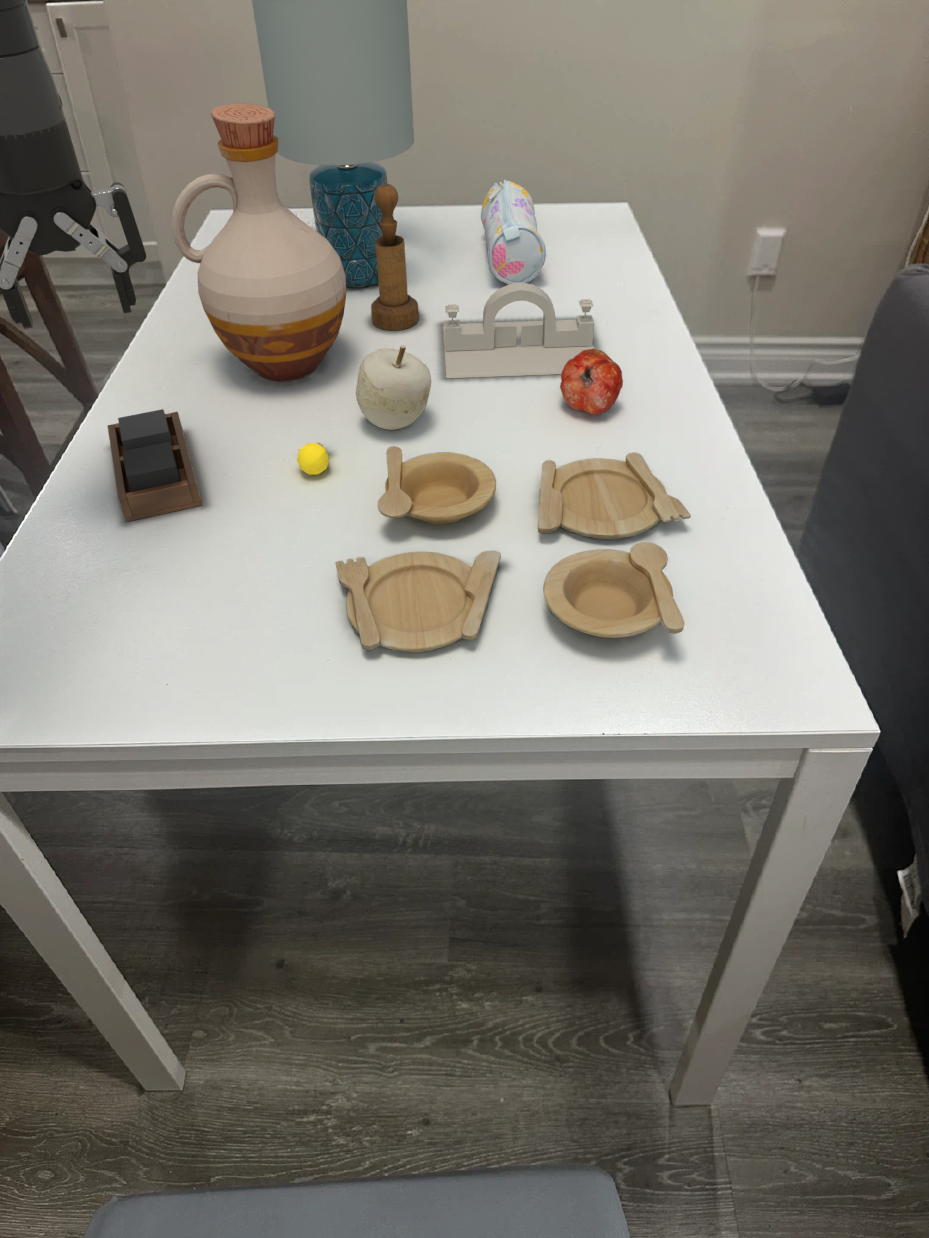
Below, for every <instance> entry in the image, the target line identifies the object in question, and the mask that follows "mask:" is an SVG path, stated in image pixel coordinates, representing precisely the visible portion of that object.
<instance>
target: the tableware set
mask: <svg viewBox="0 0 929 1238" xmlns="http://www.w3.org/2000/svg"><path fill="white" fill-rule="evenodd" d="M386 466H387V478H386V481H385V486H384V488H385V492H384V493H383V494H382V495H381V496H380V497H379V498H378V501H377V510H378V512H379V513H380V515H382V516H384V517H385V518H389V519H400V518H401V519H402V518H404V517H405V516H407V517H410V518H413V519H417V520H420V521H422V522H424V523H428V524H433V525H434V524H435V525H448V524H452V523H456V522H460V521H462V520H464V519H465V518H467V517H469V516H473V515H475V514H477V513H478V512H481V510H483V509H484V508H486V506H488V505H489V504H490V503H491V501H492V500H493V498H494V497H495V494H496V490H497V479H496V476H495V473H494V471H493V469H491V468H490V467H489V466H488V465H487V464H486V463H485V462H483V461H481V460H480V459H478V458H475V457H472V456H470V455H468V454H467V455H466V454H463V453H458V452H451V451H441V452H440V451H439V452H430V453H425V454H420V455H417V456H414V457H412V458H409V459H407V460H404V461H403V450H402V448H401V447H399V446H396V445H393V446H389V447H388V448H386ZM540 472H541V473H540V488H539V494H538V495H539V497H538V498H539V508H538V509H539V510H538V523H537V525H538V526H537V530H538V533H539V534H540V533H542V534H550V533H554V532H556V531H557V530H558V529H559V528H560V527H561V528H563V529H564V530H567V531H568V532H570V533H573V534H576V535H578V536H579V535H580V536H583V537H588V538H593V539H602V540H611V539H624V538H629V537H633V536H637V535H640V534H642V533H644V532H646V531H648V530H650V529H652V528H653V527H655V526H656V525H657V524H658V523H659V522H660V521H662V522H663V523H669V522H671V521H672V520H673V521H679V520H681V519H682V520H689V519H690V518H692V516H691V515H692V514H691V513H690V511H688V509H687V507H686V506H685V505H684V504H683V503H682V502H681V500H680V499H679V498H676V497H674V496H671V495H669V494H668V493H667V490H666V487H665V486H664V484H663V483H662V482H661V480H660V479H658V477H656V476H655V475H654V474H653V472H652V470H651V469H650V467H649V465H648V463H647V461H646V460H645V459H644V456H643V455H642V454H641V453H639V452H633V451H632V452H628V453H627V454H626V455H625V461H624V460H620V459H614V458H603V457H602V458H601V457H595V458H594V457H593V458H585V459H579V460H575V461H574V460H573V461H570V462H568V463H565V464H563V465H561V466H559V467H557V464H556V462H555V460H554V461H553V460H551V459H547V460H545V461H543V462H542V464H541V471H540ZM501 557H502V553H501V552H500V551H496V550H484V551H481V552H480V553H479V554H477V555H476V557H475V559H474V560H473V562H472V566H470V564H468V563H466V562H465V561H463V560H461V559H458V558H456V557H454V556H451V555H448V554H445V553H440V552H433V551H409V552H403V553H398V554H394V555H391V556H387V557H385V558H382V559H380V560H378V561H375V562H374V563H372V564H370V565H369V566H368V563H367V560H366V557H365V556H361V557H359V556H358V557H356V559H355V561H354V558H348V559H346V562H344V560H338V561H335V562H334V563H335V569H336V573H337V576H338V580H339V583H340V584H341V586H343V587H344V588H346V589H348V591H347V593H346V599H345V609H346V615H347V617H348V619H349V622H350V623H351V625H352V627H353V628H354V629H355V630H356V631H357V632H358V634H359V638H360V642H361V647H362V649H365V650H374V649H377V648H379V647H382V648H385V649H389V650H393V651H397V652H398V651H399V652H406V653H407V652H408V653H409V652H411V653H412V652H413V653H417V652H418V653H420V652H428V651H433V650H436V649H441V648H444V647H447V646H449V645H452V644H453V643H456V642H458V641H460V640H461V639H464V640H467V641H472V640H475V639H477V637H478V636H479V632H480V630H481V626H482V623H483V619H484V616H485V614H486V611H487V608H488V603H489V602H488V601H489V598H490V595H491V592H492V588H493V584H494V582H495V578H496V576H497V575H496V574H497V572H498V569H499V564H500V562H501ZM668 557H669V556H668V553H667V552H666V550H665V549H664V548H663V547H662V546H661V545H659V544H657V543H654V542H650V541H640V542H637V543H635V544H634V545H632V547H631V548H630V551H629V552H628V551H624V550H618V549H612V548H611V549H610V548H609V549H608V548H599V549H598V548H597V549H590V550H584V551H579V552H576V553H575V552H574V553H573V554H570V555H568V556H566V557H563V558H562V559H560V560H558V562H556V563H555V564H554V565H553V566H552V567H551V569H550V570H549V571H548V572H547V574H546V575H545V578H544V581H543V587H542V589H543V590H542V591H543V597H544V600H545V602H546V605H547V607H548V609H549V610H550V612H551V614H552V615H553V616H554V617H556V618H557V619H558V620H559V621H560V622H561V623H563V624H564V625H566V626H567V627H568V628H571V629H574V630H575V631H577V632H580V633H583V634H587V635H589V636H590V635H591V636H595V637H598V638H608V639H609V638H610V639H611V638H613V639H614V638H615V639H616V638H627V637H632V636H636V635H640V634H642V633H645V632H647V631H649V630H652V629H653V628H655V627H656V626H658V625H659V624H660V623H661V624H662V625H661V626H662V627H663V629H664V630H665V632H667V633H669V634H672V635H673V634H675V635H676V634H680V633H682V632H683V630H684V627H685V625H686V624H685V620H684V617H683V615H682V613H681V611H680V608H679V607H678V604H677V602H676V600H675V598H674V592H673V586H672V583H671V582H670V580H669V579H668V577H667V575H666V573H664V571H663V570H664V569H665V568H666V567H667V564H668V561H669V558H668Z"/></svg>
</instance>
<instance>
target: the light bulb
mask: <svg viewBox="0 0 929 1238" xmlns="http://www.w3.org/2000/svg"><path fill="white" fill-rule="evenodd" d="M329 461H330V455H329V453H328V451H327V449H326V448H325V447H324V445H323V444H322V443H321V442H307V443H306V444H305V445H303V446H302V447H301V448H299V449H298V452H297V458H296V462H297V464H298V466H299V468H300V470H301V471H303V472H304V473H306V474H307V475H309V476H311V475H312V476H313V475H320V474H322V472H324V471H325V470H326V469H328V465H329Z"/></svg>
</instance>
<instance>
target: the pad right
mask: <svg viewBox="0 0 929 1238" xmlns="http://www.w3.org/2000/svg"><path fill="white" fill-rule="evenodd" d="M165 414H166V413H165V410H164V408H162V409H157V410H152V411H146V412H141V413H136V414H131V415H127V416H121V417H117V421H118V423H119V427H120V433H121V439H122V443H123V446H124V449H125V451H126V450H131V449H136V448H141V447H146V446H151V445H155V444H160V443H165V442H170V444H171V446H174V444H173V440H172V437H171V433H170V430H169V426H168V423H167V420H166V416H165Z"/></svg>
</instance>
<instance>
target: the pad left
mask: <svg viewBox="0 0 929 1238" xmlns="http://www.w3.org/2000/svg"><path fill="white" fill-rule="evenodd" d="M122 453H123V459H124V465H125V471H126V477H127V480H128V482H129V485H130V488H131V491H132V492H134V491H139V490H144V489H148V488H153V487H157V486H162V485H167V484H171V483H176V482H181V479H180V474H179V471H178V467H177V464H176V461H175V457H174V454H173V450H172V447H171V444H170V442H165V443H160V444H155V445H151V446H146V447H141V448H136V449H131V450H126V451H123V452H122Z"/></svg>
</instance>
